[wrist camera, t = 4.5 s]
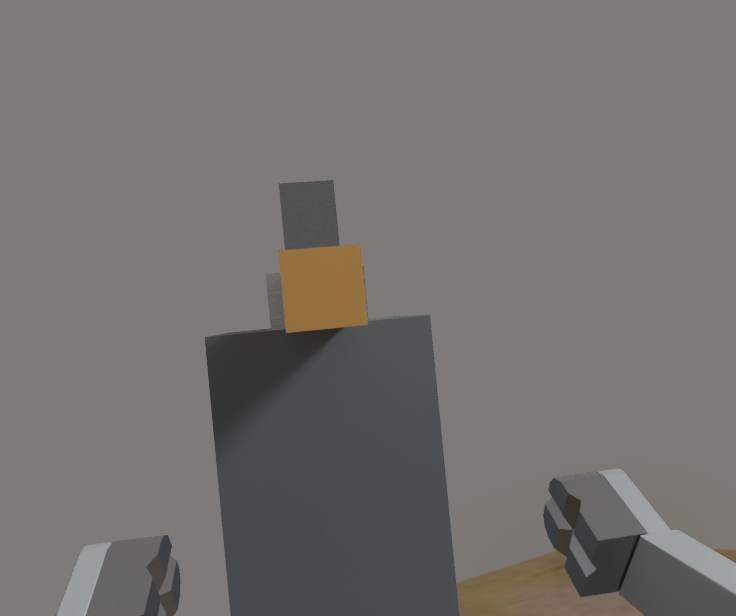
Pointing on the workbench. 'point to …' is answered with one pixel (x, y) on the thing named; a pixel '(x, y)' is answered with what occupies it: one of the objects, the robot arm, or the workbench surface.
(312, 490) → the stand
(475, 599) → the workbench surface
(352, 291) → the bar
